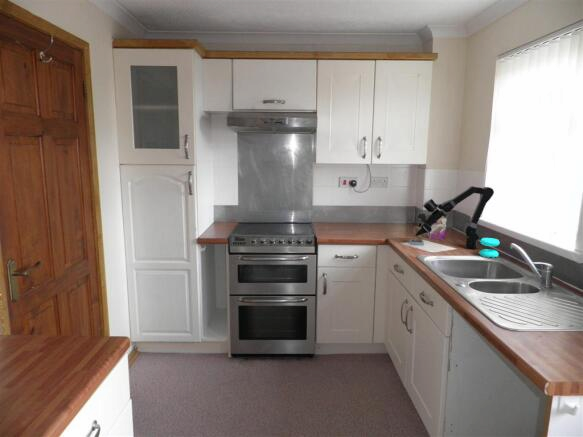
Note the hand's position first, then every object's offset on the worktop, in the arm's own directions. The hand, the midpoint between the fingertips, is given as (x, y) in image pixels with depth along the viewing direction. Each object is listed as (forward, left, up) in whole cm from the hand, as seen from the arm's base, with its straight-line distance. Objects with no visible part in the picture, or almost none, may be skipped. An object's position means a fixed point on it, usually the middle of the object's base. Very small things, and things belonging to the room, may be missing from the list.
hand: (415, 234), depth 254 cm
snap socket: (-1, +1, -7) cm, 7 cm away
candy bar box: (-29, -9, -8) cm, 31 cm away
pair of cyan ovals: (-19, +39, -8) cm, 44 cm away
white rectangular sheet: (-4, +8, -8) cm, 12 cm away
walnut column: (-1, +1, -7) cm, 7 cm away
